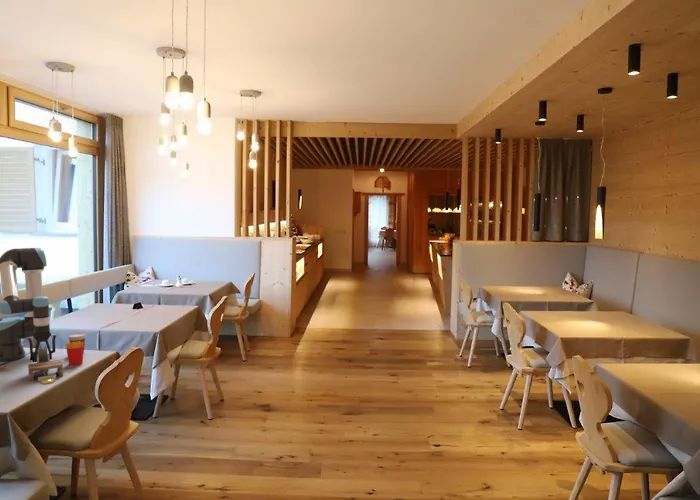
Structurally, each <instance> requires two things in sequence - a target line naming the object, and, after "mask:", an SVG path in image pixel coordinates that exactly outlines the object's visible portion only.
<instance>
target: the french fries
mask: <svg viewBox="0 0 700 500" xmlns="http://www.w3.org/2000/svg"><path fill="white" fill-rule="evenodd" d="M65 348H66V354H67V361H68V366H77V365H78V366H79V365H82V364H83V363H84V362H83V360H84V354H83V350H84V351H85V345H84V346H83V342H82V343H81V342H80V341H78V342H76V343H75V342H72V343H70V341H69V342H68V343H65Z"/></svg>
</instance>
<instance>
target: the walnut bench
mask: <svg viewBox="0 0 700 500" xmlns="http://www.w3.org/2000/svg"><path fill="white" fill-rule="evenodd" d="M27 367H28V370H27V371H28V372H27V373H28V379H29V382H34V372H38V371H39V372H40V370H47V369H48V370H52V369H57V374H58V375H59V378H60V377H61V378H62V377H64V374H63V373H64V371H63V370H64V369H63V363H62V361H61V359H56V360H50V361H47V362H40V363H37V362H34V363H29V364H27Z"/></svg>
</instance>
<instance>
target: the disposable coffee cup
mask: <svg viewBox="0 0 700 500" xmlns="http://www.w3.org/2000/svg"><path fill="white" fill-rule="evenodd" d="M86 338H87V336H86V334H85V333H79V332H78V333H72V334H70V335H68V340H69V342H70V343H72V342H75V343H76V342H78V341H80V342H81V343H82V342H83V346H84V347H85V345H86V344H85V343H86ZM84 352H85V349H84V350H83V355H84Z"/></svg>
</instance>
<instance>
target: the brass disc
mask: <svg viewBox="0 0 700 500" xmlns="http://www.w3.org/2000/svg"><path fill="white" fill-rule="evenodd" d="M55 381H56V379H54V378H45V379H42V380H41V381H40V383H41V384H42V385H47V384H52V383H55Z"/></svg>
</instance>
